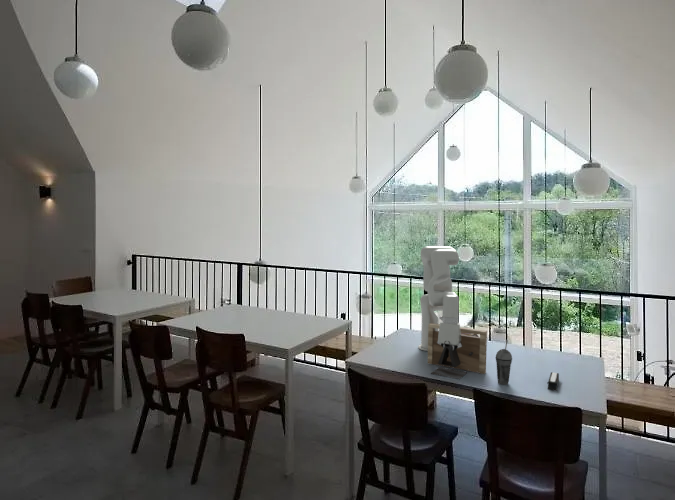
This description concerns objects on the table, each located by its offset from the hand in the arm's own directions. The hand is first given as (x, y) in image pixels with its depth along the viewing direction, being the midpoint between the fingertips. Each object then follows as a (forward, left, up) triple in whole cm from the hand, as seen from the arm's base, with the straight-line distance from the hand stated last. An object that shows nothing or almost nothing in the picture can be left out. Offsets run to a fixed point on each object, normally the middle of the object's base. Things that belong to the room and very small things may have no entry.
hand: (449, 357), depth 220 cm
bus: (-14, +45, -9) cm, 48 cm away
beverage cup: (-1, +25, -8) cm, 26 cm away
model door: (-3, 0, -8) cm, 8 cm away
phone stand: (0, 0, -3) cm, 3 cm away
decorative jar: (-22, 0, -8) cm, 23 cm away
